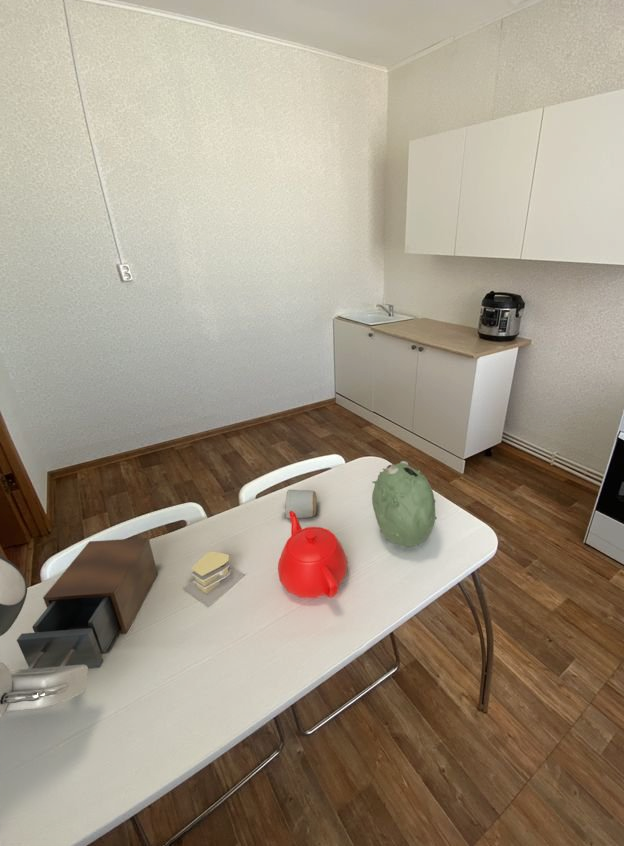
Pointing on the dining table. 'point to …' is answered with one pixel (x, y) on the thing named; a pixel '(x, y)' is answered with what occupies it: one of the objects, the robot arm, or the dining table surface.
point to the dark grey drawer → (71, 633)
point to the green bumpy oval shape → (403, 505)
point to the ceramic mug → (301, 503)
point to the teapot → (311, 562)
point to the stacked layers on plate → (212, 577)
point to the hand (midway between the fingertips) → (41, 675)
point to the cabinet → (110, 576)
